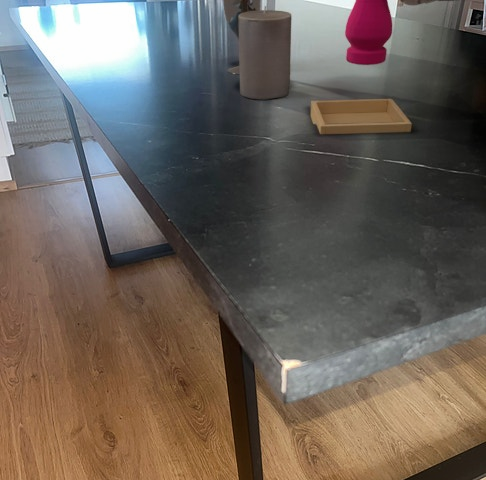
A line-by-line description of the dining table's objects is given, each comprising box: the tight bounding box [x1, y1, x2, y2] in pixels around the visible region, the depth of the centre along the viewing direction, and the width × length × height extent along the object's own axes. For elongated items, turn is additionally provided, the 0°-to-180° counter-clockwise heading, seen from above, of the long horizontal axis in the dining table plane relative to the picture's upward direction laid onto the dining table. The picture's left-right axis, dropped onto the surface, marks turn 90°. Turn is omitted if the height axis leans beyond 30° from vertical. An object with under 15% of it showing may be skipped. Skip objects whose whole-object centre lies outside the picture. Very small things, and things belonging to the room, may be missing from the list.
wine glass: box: [222, 0, 262, 75], centre depth 112 cm, size 8×8×15 cm
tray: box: [310, 98, 413, 135], centre depth 84 cm, size 14×13×3 cm
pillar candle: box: [238, 5, 292, 100], centre depth 98 cm, size 10×10×15 cm
